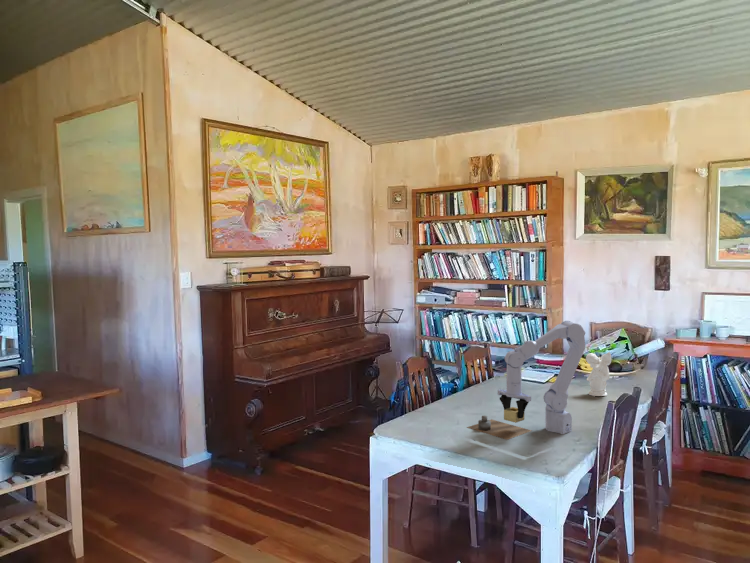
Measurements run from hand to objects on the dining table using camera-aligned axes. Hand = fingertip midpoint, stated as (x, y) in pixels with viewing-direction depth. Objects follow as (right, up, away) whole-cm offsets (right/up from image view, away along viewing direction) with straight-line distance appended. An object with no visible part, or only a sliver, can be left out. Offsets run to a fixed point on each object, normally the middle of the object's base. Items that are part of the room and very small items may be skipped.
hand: (514, 416), depth 224 cm
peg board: (-6, -7, +2) cm, 9 cm away
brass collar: (0, -1, 0) cm, 1 cm away
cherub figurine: (+57, -3, +57) cm, 81 cm away
